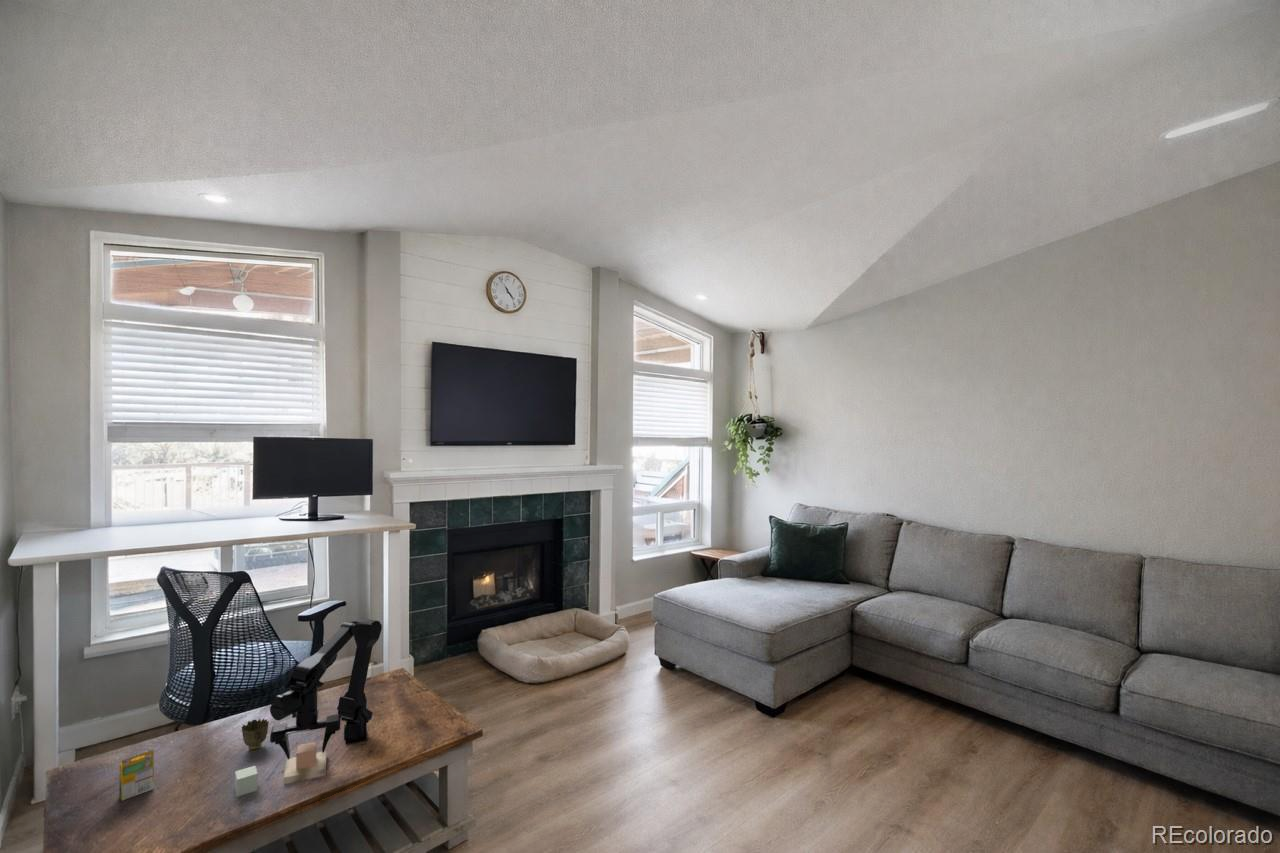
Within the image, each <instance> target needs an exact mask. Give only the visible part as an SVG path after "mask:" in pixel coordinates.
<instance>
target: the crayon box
mask: <svg viewBox="0 0 1280 853" xmlns="http://www.w3.org/2000/svg"><path fill="white" fill-rule="evenodd" d="M154 750H155V749H152V750H148V751H145V752H142V753H139V754H136V755H133V756H130V757H127V758H124V759H121V762H119V791H118V792H119V793H118V796H119V797H118V798H119V799H120V801H121V802H123V801H125V800H127V799H131V798H133V797H136V796H138V795H140V794H144V793H147V792H150V791H153V790H154V789H155V788H154V787H155V786H154V784H155V783H154V782H155V781H154V780H155V779H154V778H155V776H154V772H155V767H154V766H155V765H154V764H155V763H154V762H155V759H154V755H155V754H154Z"/></svg>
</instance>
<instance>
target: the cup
mask: <svg viewBox="0 0 1280 853" xmlns="http://www.w3.org/2000/svg"><path fill="white" fill-rule="evenodd" d="M269 725H270V724H269V720H267V719H266V718H263V719H261V718H259V719H258V720H257V719H254V718H253V719H252V720H251V721H250V720H248V722H247V723H246V724H242V726H241V733H242V740H243V743H244V744H245V745H246V746H248V747H247V749H248V750H249V751H257V750H259V749H261V747H262V745H263V744H262V743H263V742H264V741H265V740H266V739H267V736H268V730H269Z"/></svg>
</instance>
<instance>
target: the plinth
mask: <svg viewBox="0 0 1280 853" xmlns="http://www.w3.org/2000/svg"><path fill="white" fill-rule="evenodd" d="M327 753H328V752H327V750H324V753H322V751H319V752H316V762H315V766H313V767H308V768H303V769H297V770H296V756H294V757H290V759H288V758H286V761H285V767H284V768H285V769H284V774H283V785H287V784H291V783H296V782H301V781H306V780H311V779H314V778H319V777H325V776H326V775H327V774H326V773H327V772H326V771H327V770H326V769H327Z"/></svg>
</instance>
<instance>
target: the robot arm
mask: <svg viewBox="0 0 1280 853" xmlns="http://www.w3.org/2000/svg"><path fill="white" fill-rule="evenodd" d="M382 627H383V626H382V624H381V622H380V620H375V619H370V618H361V619H359V620H354V621H345V622H343V623H341V625H340V627H339V629H337V631H335V633H334V634H333V635H332V636H331V637H330V638H329V639H328V640H327V641H326V642H325V643H324V644H323V645H322V646H321V647H320V648H319V649H318V651H317V652H315V653H314V654H313V655H311V656H308V657H306V658H305V659H303V660H302V661H301V662H300V663H298V664H297V665H296V666H295V668H293V672H292V674H291V676H290V678H289V680H288V682H287V683H286V685H285V687H284V691H285V692H284V693H282V694H281V693H280V694H278V695H276V696H275V700H274V701H272V703H271V705H270V707H269V712H270V715H271V717H272V719H274V720H275V721H281V720H283V719H286V718H287V717H289V716H291V715H292V716H291V717H292V719H294V718H295V725H294V726H293V725H292V726H289V727H288V723H287V722H286V723H280V724H275V725H273V726H272V728H271V731H270V734H269V736H270V738H269V742H270V743H275V745H279V746H280V748H281V749H282V750H283V753H284V754H285V756H286V759H290V758H291V749H290V740H289V735H292V734H296V733H303V732H308V731H313V730H319V729H324V735H323V740H322V748H321V752H322V753H324V751H326V748H327V744H328V742H329V740H330V739H331V737H332V735H335V734H336V732H338V731H341V722H345V724H344V727H343V728H344V729H343V740H344V741H345V742H344V743H345V745H349V744H355V743H360V742H366V741H367V740H368V735H367V734H368V733H367V732H368V731H367V730H368V729H367V726H368V725H367V724H368V723H369V721H371V720H372V717H373V714H374V713H373V711H371V710H369V709H368V708H367V702H368V701H367V700H368V699H367V697H366V694H365V686H366V681H367V676H368V673H369V667H370V661H371V656H372V651H373V647H374V645H375V644H376V643H377V642H378V640H379V639H380V635H381V633H382V629H383V628H382ZM352 638H353V639H354V642H355V644H356V648H355V653H354V660H353V665H352V667H351V668H352V669H351V673H350V679H349V682H348V683H349V684H348V687H347V688H348V689H347V691H346V692H345V693H344V695H343V696H340V697H339V698H338V705H337V707H336V710H337V714H332V715H328V716H326V720H323V721H318V720H319V710H318V688H320V687H323V686H324V683H325V682H323V681H321V678H322V677H323V676H324V675H325V673H326V672H327V671H326V670H327V667H328V664H329V663H330V662H331V660H333V658H335V656H337V654H338V653H339V652H340V651H341V650H342V649H343V648H344V647H345V646H346V644H347V643H348V642H349V641H350V640H351V639H352ZM297 683H298V684H297ZM300 684H302V685H300Z"/></svg>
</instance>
